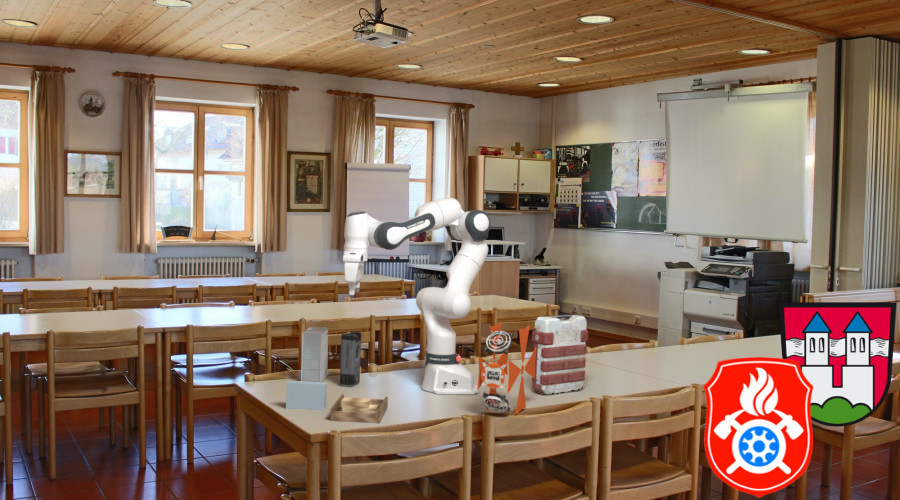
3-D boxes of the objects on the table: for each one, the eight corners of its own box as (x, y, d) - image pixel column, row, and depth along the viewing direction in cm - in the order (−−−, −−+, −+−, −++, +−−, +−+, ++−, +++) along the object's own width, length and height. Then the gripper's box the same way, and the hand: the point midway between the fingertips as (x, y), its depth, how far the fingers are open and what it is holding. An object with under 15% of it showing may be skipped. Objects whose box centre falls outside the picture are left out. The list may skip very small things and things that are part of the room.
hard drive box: (308, 375, 321) (310, 326, 320) (327, 376, 320) (329, 327, 320) (300, 383, 305) (301, 332, 304) (319, 384, 305) (321, 333, 304)
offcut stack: (378, 417, 262) (379, 399, 261) (376, 421, 257) (377, 402, 256) (339, 415, 262) (340, 397, 262) (336, 418, 257) (337, 400, 257)
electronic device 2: (475, 417, 265) (479, 328, 264) (506, 399, 293) (509, 319, 291) (506, 422, 261) (510, 332, 259) (534, 403, 288) (537, 321, 287)
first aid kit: (571, 386, 320) (574, 312, 318) (586, 390, 313) (589, 315, 311) (528, 392, 306) (532, 315, 305) (543, 396, 299) (546, 318, 298)
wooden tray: (387, 408, 273) (387, 396, 272) (379, 423, 253) (380, 410, 253) (341, 405, 273) (341, 394, 273) (330, 420, 254) (330, 408, 254)
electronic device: (353, 387, 302) (354, 335, 301) (338, 386, 303) (340, 334, 302) (360, 382, 311) (362, 332, 310) (346, 381, 312) (348, 331, 311)
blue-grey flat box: (325, 408, 269) (326, 382, 268) (324, 411, 266) (325, 384, 265) (288, 406, 269) (288, 380, 269) (285, 409, 266) (286, 382, 266)
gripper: (351, 254, 300) (350, 290, 301) (341, 257, 280) (340, 296, 280) (368, 254, 300) (367, 291, 300) (359, 257, 279) (358, 296, 280)
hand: (354, 293), depth 290 cm, fingers open, 8 cm apart
